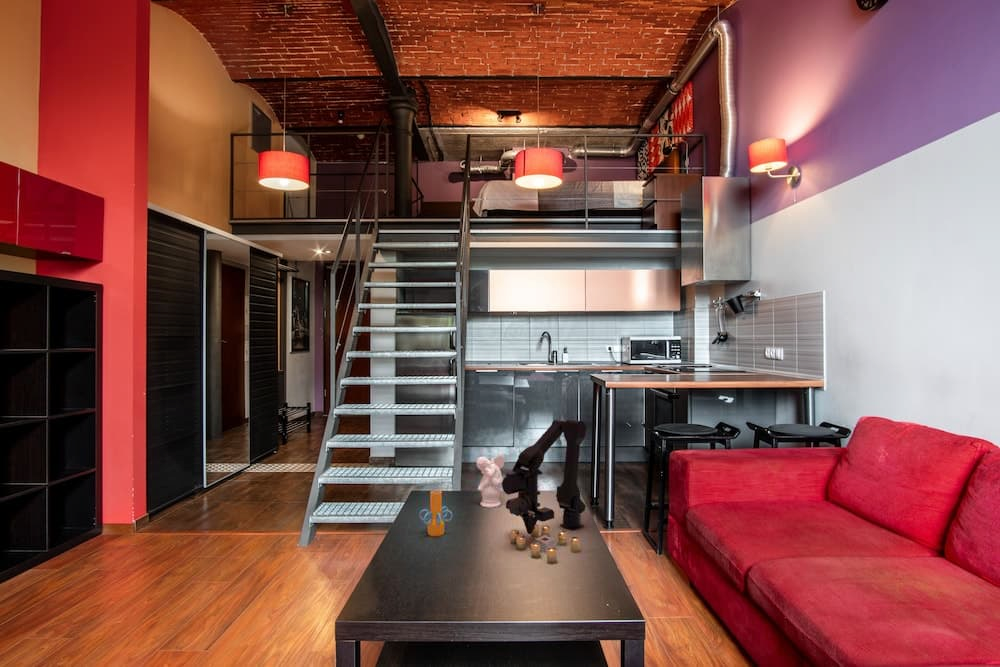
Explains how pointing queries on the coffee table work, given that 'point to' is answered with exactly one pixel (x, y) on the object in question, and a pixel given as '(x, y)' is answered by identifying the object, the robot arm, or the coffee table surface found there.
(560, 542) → the spacers
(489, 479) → the cherub figurine
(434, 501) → the orange column with rings
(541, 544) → the zinc nut
